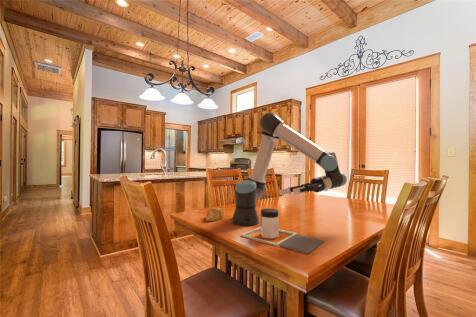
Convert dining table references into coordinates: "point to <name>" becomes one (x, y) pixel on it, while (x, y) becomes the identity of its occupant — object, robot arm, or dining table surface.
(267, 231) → the jar
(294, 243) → the mat
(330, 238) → the dining table surface
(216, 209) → the croissant
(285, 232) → the frame
